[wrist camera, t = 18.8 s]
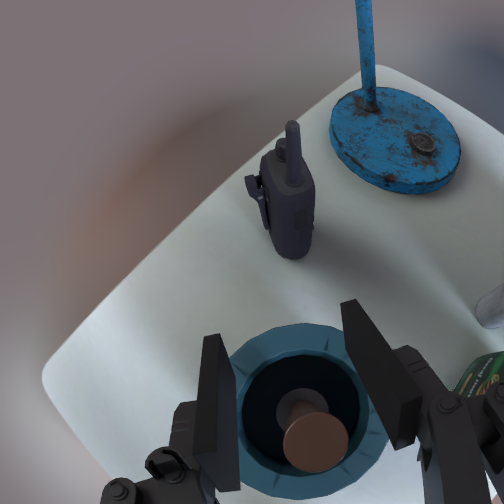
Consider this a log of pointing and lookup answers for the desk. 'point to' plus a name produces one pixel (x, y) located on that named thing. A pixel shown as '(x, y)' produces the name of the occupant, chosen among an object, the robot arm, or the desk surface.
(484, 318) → the hip flask
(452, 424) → the robot arm
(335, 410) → the teal pencil cup
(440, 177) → the desk lamp
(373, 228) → the desk surface
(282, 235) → the two-way radio
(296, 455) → the rod with cylinder end
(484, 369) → the coffee jar
